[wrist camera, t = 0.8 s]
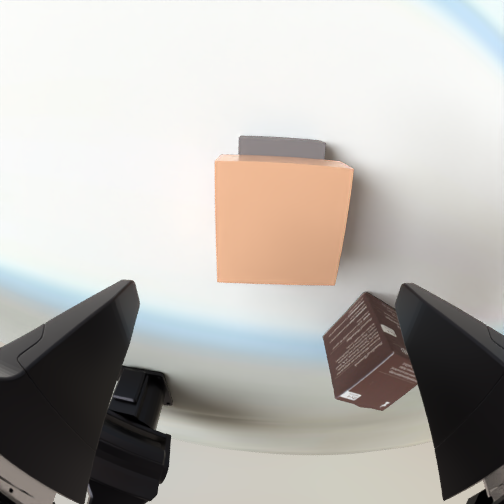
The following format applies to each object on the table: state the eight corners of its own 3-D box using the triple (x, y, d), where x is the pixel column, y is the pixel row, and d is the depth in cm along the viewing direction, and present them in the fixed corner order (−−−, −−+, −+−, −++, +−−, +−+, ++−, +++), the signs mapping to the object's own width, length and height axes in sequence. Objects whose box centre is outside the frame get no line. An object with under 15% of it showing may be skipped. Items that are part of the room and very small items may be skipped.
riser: (306, 262, 21) (310, 277, 19) (239, 260, 21) (237, 274, 19) (318, 140, 17) (325, 143, 15) (240, 135, 17) (238, 137, 15)
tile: (326, 265, 19) (334, 285, 16) (222, 261, 19) (217, 282, 16) (340, 161, 15) (353, 168, 13) (221, 154, 15) (214, 160, 13)
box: (404, 314, 23) (435, 371, 17) (363, 354, 26) (381, 412, 19) (364, 288, 22) (395, 352, 15) (319, 335, 24) (333, 401, 18)
